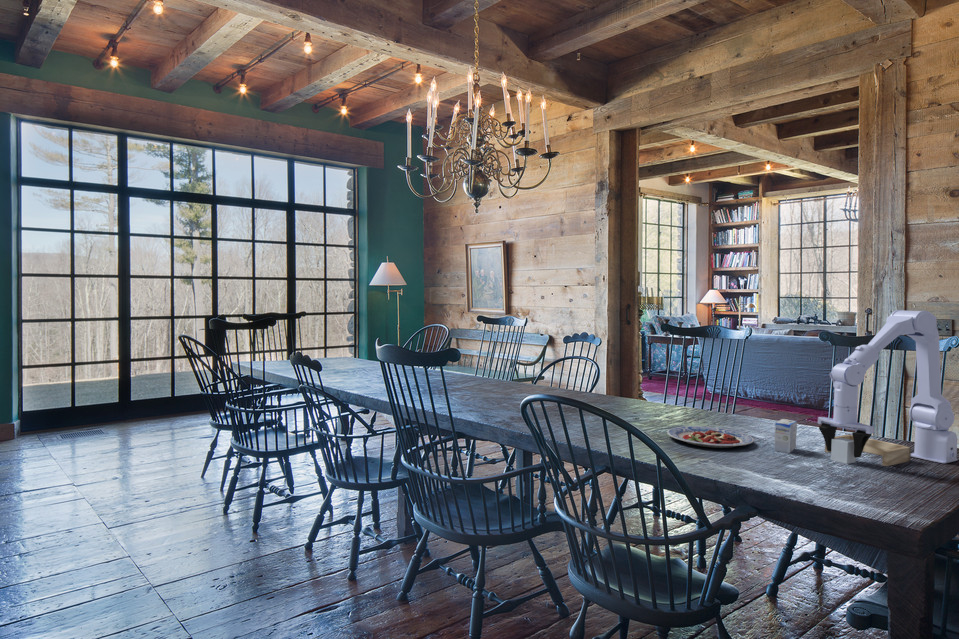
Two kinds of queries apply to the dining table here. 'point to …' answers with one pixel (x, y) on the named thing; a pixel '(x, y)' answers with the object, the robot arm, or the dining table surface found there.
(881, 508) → the dining table surface
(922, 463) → the dining table surface
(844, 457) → the block
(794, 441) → the medicine box
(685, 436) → the ceramic plate
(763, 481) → the dining table surface
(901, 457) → the birch frame
